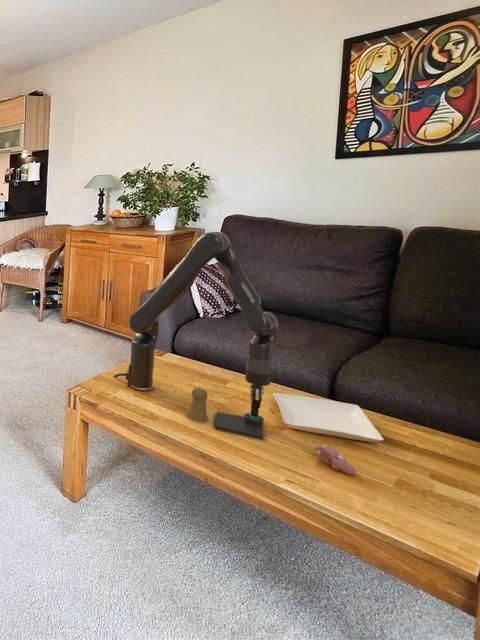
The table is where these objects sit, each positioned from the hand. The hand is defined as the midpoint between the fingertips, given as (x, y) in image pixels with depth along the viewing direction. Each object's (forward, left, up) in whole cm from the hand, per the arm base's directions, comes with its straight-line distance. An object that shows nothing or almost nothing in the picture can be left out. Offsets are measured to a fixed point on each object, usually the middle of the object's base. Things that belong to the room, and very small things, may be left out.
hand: (254, 415), depth 167 cm
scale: (-5, -4, -4) cm, 7 cm away
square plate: (+21, +14, -4) cm, 26 cm away
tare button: (0, 0, -2) cm, 2 cm away
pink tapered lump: (+20, -17, -4) cm, 27 cm away
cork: (-18, -4, -4) cm, 18 cm away
